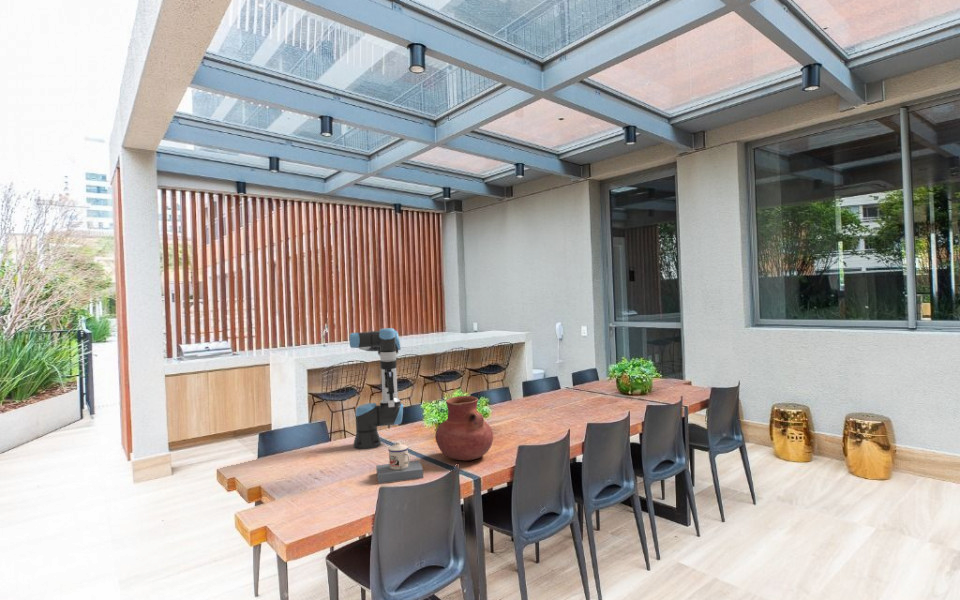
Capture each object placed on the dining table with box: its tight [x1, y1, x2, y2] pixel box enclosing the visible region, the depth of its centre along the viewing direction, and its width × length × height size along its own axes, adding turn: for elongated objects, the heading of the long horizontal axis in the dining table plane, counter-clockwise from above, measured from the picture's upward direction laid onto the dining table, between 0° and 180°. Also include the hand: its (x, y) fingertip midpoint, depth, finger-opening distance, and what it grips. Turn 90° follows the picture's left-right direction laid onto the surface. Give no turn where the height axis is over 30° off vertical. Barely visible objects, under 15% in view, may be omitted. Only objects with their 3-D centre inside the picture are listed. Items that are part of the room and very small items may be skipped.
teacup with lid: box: [387, 441, 411, 470], centre depth 231 cm, size 12×9×12 cm
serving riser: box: [375, 459, 424, 485], centre depth 231 cm, size 14×20×4 cm
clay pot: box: [435, 395, 494, 461], centre depth 255 cm, size 30×29×30 cm
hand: (390, 403), depth 243 cm, fingers open, 13 cm apart
